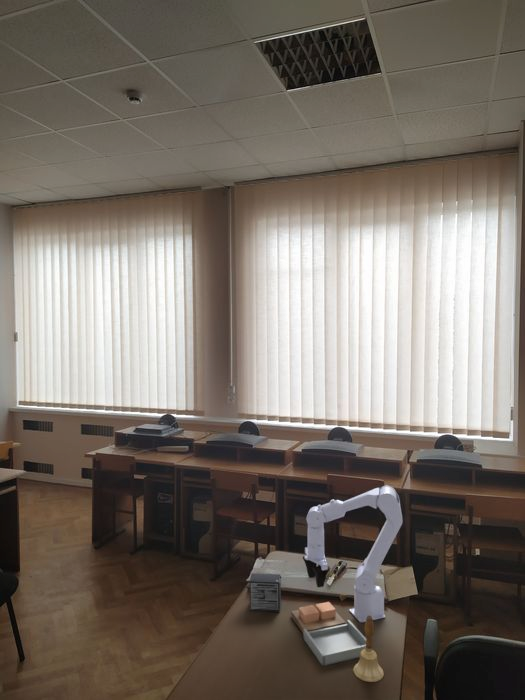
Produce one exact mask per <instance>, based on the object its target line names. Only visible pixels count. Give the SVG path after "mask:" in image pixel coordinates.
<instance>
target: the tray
mask: <svg viewBox="0 0 525 700" xmlns="http://www.w3.org/2000/svg"><path fill="white" fill-rule="evenodd" d="M302 637H303V638H302V639H303V641H305V643H306V644H307V646H308V648H309V649H310V650H311V651H312V653H313V655H314V656H315V657H316V659H317V660H318V662H319V664H320V665H322V667H326V666H329V665H333V664H338V663H342V662H343V663H344V662H347V661H350V660H355V659H360V655H361V651H362V650H364V649H366V635H364V634H363V633H362V632H361V631H360V630H359V629H358V628H357V626H356V625H355V624H354V623H353V622H352V621H351V620H350V619H347V620H346V624H343V625H339V626H334V627H329V628H324V629H320V630H315V631H310V632H308V631H307V630H306V629H303V633H302Z"/></svg>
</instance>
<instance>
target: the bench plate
mask: <svg viewBox="0 0 525 700" xmlns="http://www.w3.org/2000/svg"><path fill="white" fill-rule="evenodd" d="M290 615H291V616H290V617H291V619H292V620H293V622H295V625H296V626H297V627H298V629H299V630H300V631H301V632H302V634H303V629H306V630H307V631H308V632H310V631H315V630H320V629H324V628H329V627H334V626H339V625H343V624H347V621H345V619H344V618H342V617H341V615H339V613H338V612H337V611H336V617H332V618H327V619H321V618H320V617H319V620H317V621H313V622H308V623H305V622H304V621H303V620H302V618H301V617H300V616H299V609H296V610H295V609H294V610H291V612H290Z"/></svg>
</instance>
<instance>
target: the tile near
mask: <svg viewBox="0 0 525 700" xmlns="http://www.w3.org/2000/svg"><path fill="white" fill-rule="evenodd" d="M314 607H315V608H316V609H317V611H318V612H319V617H320V618H321V619H327V618H332V617H336V612H337V611H336V607H334V605H332V603H331V602H330V601H326V602H321V603H315V606H314Z"/></svg>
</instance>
